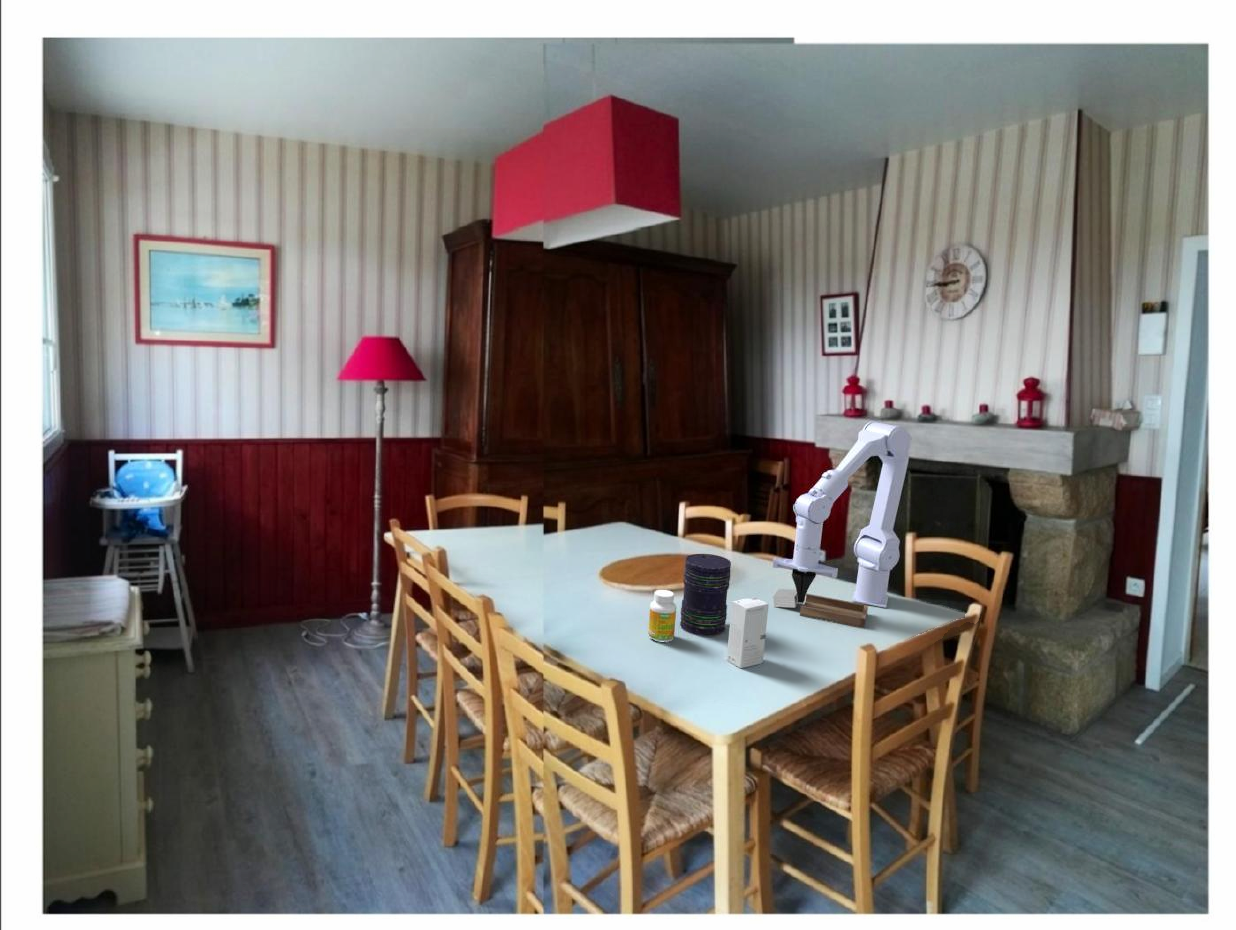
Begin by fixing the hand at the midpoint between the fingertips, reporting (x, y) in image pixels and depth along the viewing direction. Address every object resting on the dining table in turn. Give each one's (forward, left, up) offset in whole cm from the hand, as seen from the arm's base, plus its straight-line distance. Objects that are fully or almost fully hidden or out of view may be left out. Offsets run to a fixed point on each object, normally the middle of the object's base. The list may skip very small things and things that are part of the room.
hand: (801, 601), depth 170 cm
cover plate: (0, -3, -1) cm, 3 cm away
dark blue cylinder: (+23, -17, -2) cm, 29 cm away
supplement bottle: (+33, -23, -2) cm, 40 cm away
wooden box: (0, +8, -2) cm, 8 cm away
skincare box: (+35, -5, -2) cm, 35 cm away
